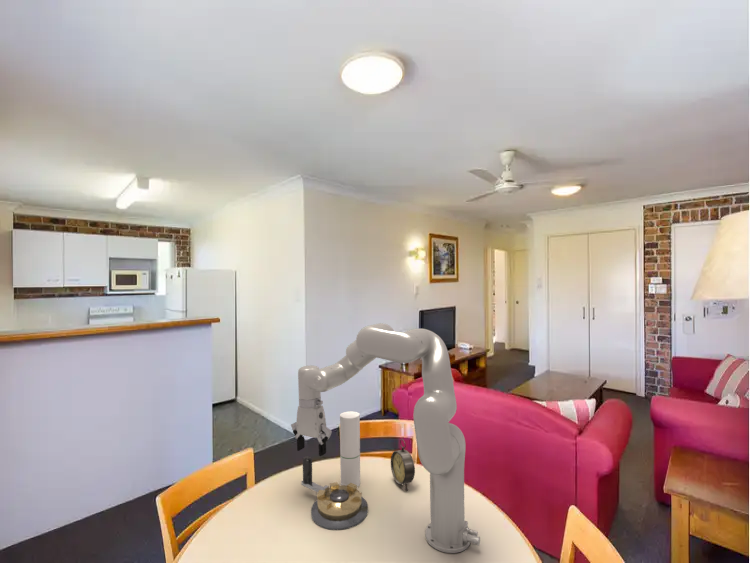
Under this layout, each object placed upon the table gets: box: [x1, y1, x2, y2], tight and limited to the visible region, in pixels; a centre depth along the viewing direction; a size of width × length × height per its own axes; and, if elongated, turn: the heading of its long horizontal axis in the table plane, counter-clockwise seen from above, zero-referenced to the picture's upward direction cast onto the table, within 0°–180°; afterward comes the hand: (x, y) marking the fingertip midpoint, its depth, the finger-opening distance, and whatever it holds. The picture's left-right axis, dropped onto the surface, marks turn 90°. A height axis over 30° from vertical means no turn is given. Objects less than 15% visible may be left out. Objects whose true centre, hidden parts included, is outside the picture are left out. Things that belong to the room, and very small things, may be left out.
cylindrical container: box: [339, 410, 361, 488], centre depth 132 cm, size 7×7×25 cm
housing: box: [310, 496, 369, 531], centre depth 116 cm, size 18×18×1 cm
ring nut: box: [300, 455, 363, 520], centre depth 119 cm, size 24×14×11 cm, turn 53°
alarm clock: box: [390, 438, 416, 492], centre depth 131 cm, size 11×5×16 cm, turn 25°
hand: (311, 451), depth 126 cm, fingers open, 9 cm apart
